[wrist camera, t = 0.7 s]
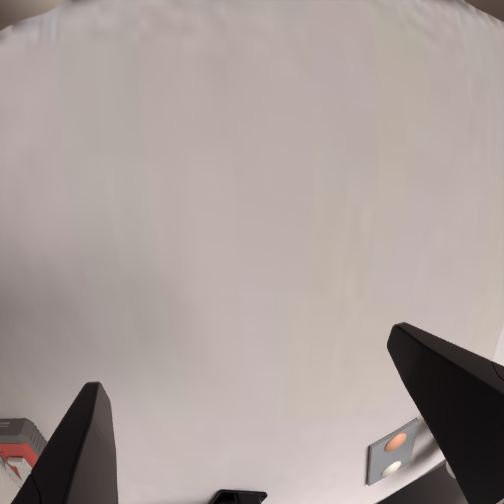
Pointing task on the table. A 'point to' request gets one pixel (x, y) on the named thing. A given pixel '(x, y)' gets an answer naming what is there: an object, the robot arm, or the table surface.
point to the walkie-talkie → (20, 447)
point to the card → (391, 452)
